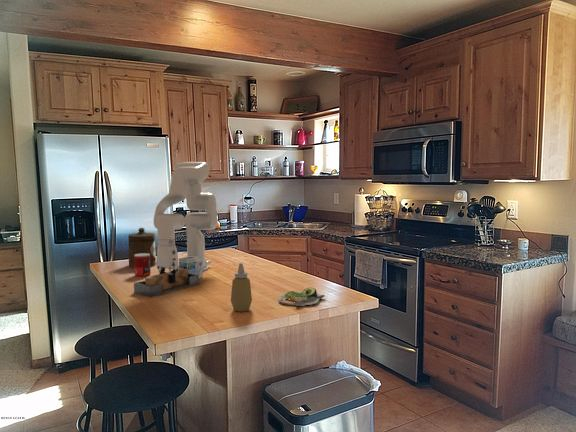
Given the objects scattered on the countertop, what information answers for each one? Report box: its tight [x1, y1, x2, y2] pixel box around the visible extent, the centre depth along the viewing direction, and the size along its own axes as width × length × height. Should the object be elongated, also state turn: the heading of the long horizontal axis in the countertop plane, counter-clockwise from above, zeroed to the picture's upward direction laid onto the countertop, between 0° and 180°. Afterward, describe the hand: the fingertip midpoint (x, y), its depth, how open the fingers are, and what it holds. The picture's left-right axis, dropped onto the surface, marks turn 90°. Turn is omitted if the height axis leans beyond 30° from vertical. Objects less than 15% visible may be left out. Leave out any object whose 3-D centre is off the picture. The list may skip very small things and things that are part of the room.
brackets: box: [133, 273, 200, 298], centre depth 195 cm, size 27×12×4 cm, turn 144°
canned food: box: [134, 253, 151, 278], centre depth 222 cm, size 8×8×11 cm
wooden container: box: [127, 227, 157, 269], centre depth 248 cm, size 15×15×22 cm
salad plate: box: [277, 287, 326, 307], centre depth 174 cm, size 19×18×5 cm
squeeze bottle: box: [230, 262, 253, 312], centre depth 162 cm, size 8×8×18 cm
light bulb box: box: [178, 255, 204, 279], centre depth 215 cm, size 11×7×11 cm, turn 148°
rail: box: [144, 269, 188, 290], centre depth 195 cm, size 22×4×6 cm, turn 151°
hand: (167, 281), depth 195 cm, fingers open, 6 cm apart
